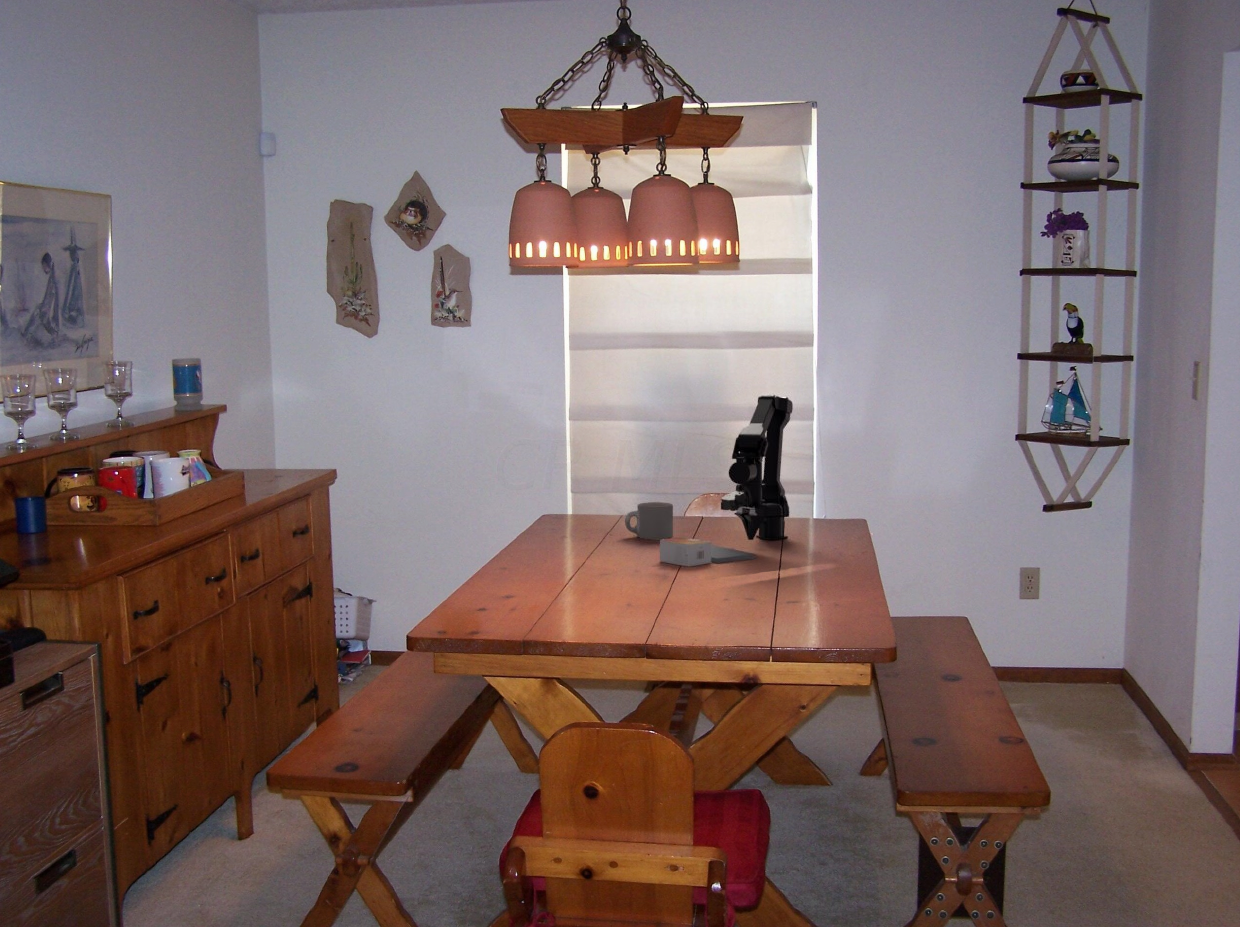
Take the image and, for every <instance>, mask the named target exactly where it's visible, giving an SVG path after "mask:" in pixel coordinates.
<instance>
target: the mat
mask: <svg viewBox="0 0 1240 927" xmlns="http://www.w3.org/2000/svg"><path fill="white" fill-rule="evenodd" d="M755 558H756V555H755V553H754V552H753V553H752V552H749V551H743V550H738V549H734V548H729V547H724V546H719V545H715V544H711V563H714V564H722V563H723V564H724V563H729V562H731V563H732V562H736V561H745V560H747V561H748V560H753V559H755Z"/></svg>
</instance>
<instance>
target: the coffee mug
mask: <svg viewBox="0 0 1240 927" xmlns="http://www.w3.org/2000/svg"><path fill="white" fill-rule="evenodd" d="M632 517H636V524H635V526H632V525H631V524H630V523H631V518H632ZM624 523H625V524H624V525H625V528H626V530H628V531H629V532H631V533H633V534H635V535H636V536H637V538H638V537H640V538H639V539H641V538H644V539H643V540H647V539H652V540H651V541H660V540H662V539H669V538H670V539H671V538H674V504H673V503H672V502H671V503H670V502H660V501H659V502H658V501H657V502H656V501H655V502H654V501H652V502H650V501H649V502H640V503H637V510H631V511H629V512H627V514H626V515H625V518H624Z"/></svg>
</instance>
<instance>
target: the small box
mask: <svg viewBox="0 0 1240 927" xmlns="http://www.w3.org/2000/svg"><path fill="white" fill-rule="evenodd" d="M711 545H712V541H710V540H703V539H696V538H692V537H684V536H677V537H672V538H670V539H664V540H659V562H660V563H664V564H665V563H666V564H671V565H676V566H683V567H696V566H700V565H701V566H702V565H706V564H707V565H708V564H712V562H711Z"/></svg>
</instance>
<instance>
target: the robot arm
mask: <svg viewBox="0 0 1240 927" xmlns="http://www.w3.org/2000/svg"><path fill="white" fill-rule="evenodd" d="M793 407H794V406H793V401H792V400H791V399H789V398H788V397H787V396H778V395H775V394H761V395H758V398H757V405H756V407H755V409H754V412H753V414H752V416H751V419H750V422H749V423H748V425H747V426H745V427H743V428H742V429H741V430H740V432H739V433H738V435H737V436H736V438H735V441H734V446H733V452H732V455H731V459H732V460H735V462H733V463H732V464H731V465H730V467H729V470H728V477H729V479H730V480H731V481H732V483H734V484H736V485H735V490H734V491H732V492H729V493H727V494H726V495H724V496H722V497H721V498H720V500H721V502H720V510H721V511H722V510H724V511H731V512H734V515H736V516H737V517H738V518H739V519H740V521H741V522H742V525H743V527H744V530H745V531H744V532H745V534H746V537H747V540H748V541H753V540H754V539H755V537H756V538H759V539H763V540H771V541H772V540H774V541H775V540H782V539H788V538H789V536H788V535H785V518H789V517H790V506H789V502H788V499H787V496H786V490H785V487H784V486H783V484H782V482H781V471H782V470H781V469H782V455H783V453H782V452H783V442H784V441H783V437H784V429H785V427H786V426H788V423H789V422H790V421H791V414H792V413H793V410H794V409H793ZM763 459H764V460H763ZM763 462H764V463H763ZM763 465H764V466H763ZM735 511H736V512H735ZM757 533H758V534H757Z"/></svg>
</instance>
